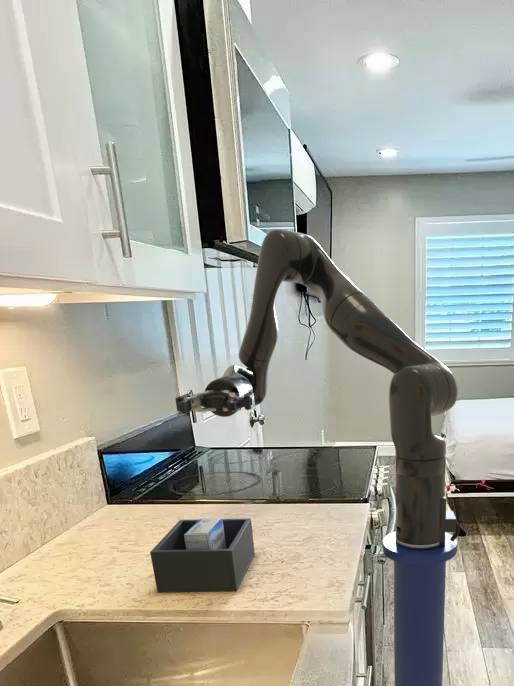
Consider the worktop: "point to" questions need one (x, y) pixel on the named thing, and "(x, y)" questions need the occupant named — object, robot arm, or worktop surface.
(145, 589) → the worktop surface
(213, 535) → the medicine box
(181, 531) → the storage bin
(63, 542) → the worktop surface
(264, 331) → the robot arm
